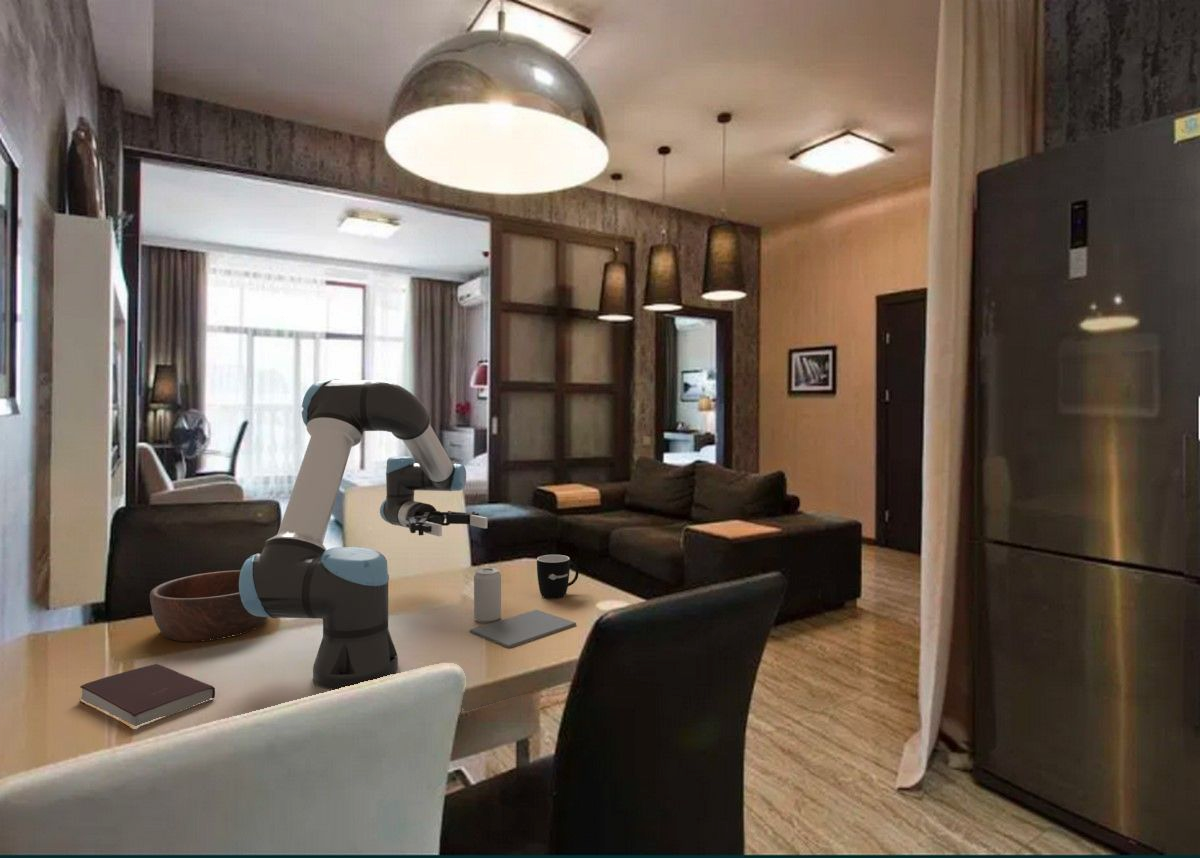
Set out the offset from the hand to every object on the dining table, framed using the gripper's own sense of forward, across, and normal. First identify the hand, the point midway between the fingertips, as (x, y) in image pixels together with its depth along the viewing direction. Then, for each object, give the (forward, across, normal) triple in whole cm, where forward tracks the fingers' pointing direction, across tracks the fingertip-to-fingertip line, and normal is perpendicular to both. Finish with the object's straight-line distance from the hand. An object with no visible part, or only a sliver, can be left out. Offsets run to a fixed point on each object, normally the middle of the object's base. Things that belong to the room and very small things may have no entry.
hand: (464, 526), depth 158 cm
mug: (+7, -26, -21) cm, 34 cm away
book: (+2, +66, -21) cm, 70 cm away
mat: (+21, -2, -21) cm, 30 cm away
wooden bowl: (-31, +47, -21) cm, 60 cm away
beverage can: (+10, 0, -21) cm, 23 cm away
